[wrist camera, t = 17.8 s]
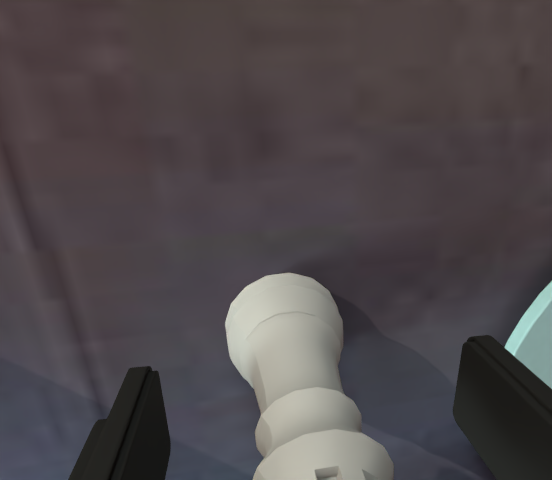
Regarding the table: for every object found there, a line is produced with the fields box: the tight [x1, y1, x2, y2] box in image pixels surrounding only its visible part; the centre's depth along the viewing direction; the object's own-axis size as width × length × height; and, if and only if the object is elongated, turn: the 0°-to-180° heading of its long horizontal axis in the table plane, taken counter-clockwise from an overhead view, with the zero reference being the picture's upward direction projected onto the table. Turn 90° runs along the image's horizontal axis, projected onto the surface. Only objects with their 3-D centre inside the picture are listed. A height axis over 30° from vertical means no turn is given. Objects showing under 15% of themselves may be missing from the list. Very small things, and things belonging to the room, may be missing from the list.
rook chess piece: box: [225, 273, 394, 480], centre depth 11 cm, size 4×4×8 cm
